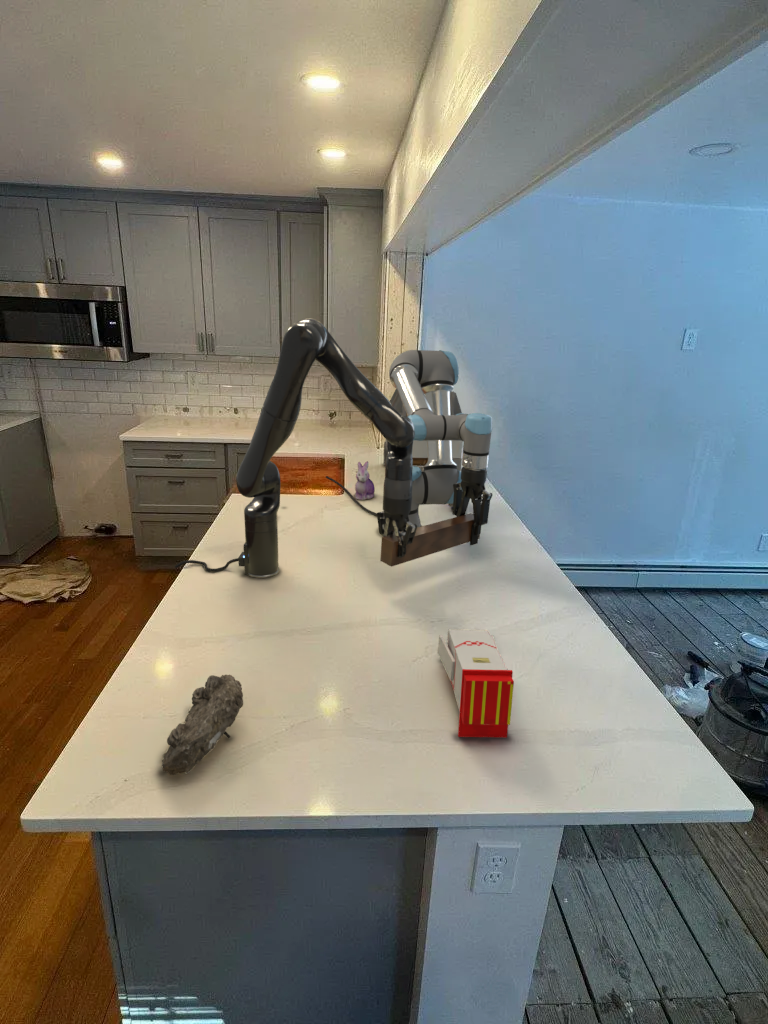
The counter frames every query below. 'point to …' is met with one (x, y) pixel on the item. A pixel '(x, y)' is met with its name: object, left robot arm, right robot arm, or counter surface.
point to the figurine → (363, 483)
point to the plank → (429, 539)
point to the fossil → (203, 723)
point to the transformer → (421, 446)
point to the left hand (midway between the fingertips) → (394, 553)
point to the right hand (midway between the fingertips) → (467, 541)
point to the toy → (478, 682)
